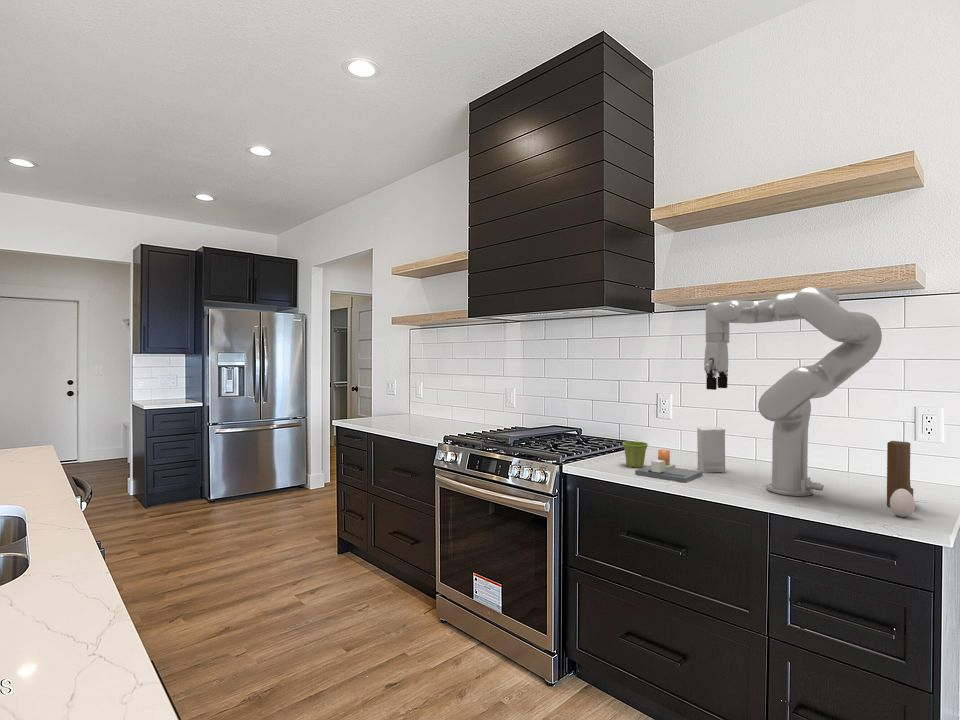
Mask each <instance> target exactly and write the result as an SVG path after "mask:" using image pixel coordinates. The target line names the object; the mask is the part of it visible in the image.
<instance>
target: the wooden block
mask: <svg viewBox="0 0 960 720" xmlns="http://www.w3.org/2000/svg"><path fill="white" fill-rule="evenodd" d="M886 444H887V447H886V448H887V450H886V457H887V458H886V507H888V508H891V507H890V498H891V496H892V494H893V493H894V492H895V491H896V490H898V489H905V490H907V491H909V492H910V493H911V495H912V496H913V497H914V488H912V487H911V443H910V442H908V441H898V440H891V441H888V442H887V443H886Z"/></svg>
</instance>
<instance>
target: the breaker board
mask: <svg viewBox="0 0 960 720" xmlns="http://www.w3.org/2000/svg"><path fill="white" fill-rule="evenodd" d="M634 471H635V473H634V475H636V476H640V477H641V476H642V477H648V478H653V479H659V480H666V481H671V480H672V481H671V482H677V481H678V483H683V484H686V483H688V482H689V483H690V482H691V481H694V480H696V479H698V478H701V477H703V474H704V473H703V472H702V471H700V470H695V469H686V468H680V467H675V468H672V469H669V470H665V471H663V472H660V473H658V472H652V471H651V465H648V466H645V467H644V466H643V467H641V468H637V469H635V470H634Z"/></svg>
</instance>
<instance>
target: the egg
mask: <svg viewBox="0 0 960 720" xmlns="http://www.w3.org/2000/svg"><path fill="white" fill-rule="evenodd" d="M889 508H890V509H891V511H892V512H893V513H894V514H895V516H897V517H901V518H906V517H910V516H911V515H912V514H913V513H914V512H915V508H916V502H915V499H914V495H913V496H912V495H911V493H910V492H909V491H907V490H905V489H898V490H896V491H895V492H894V493H893V494H892V496H891V498H890V507H889Z"/></svg>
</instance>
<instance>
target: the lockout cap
mask: <svg viewBox="0 0 960 720" xmlns="http://www.w3.org/2000/svg"><path fill="white" fill-rule="evenodd" d="M657 451H658V452H657V460H663V461H665V466H669V465H670V464H671V450H669V449H658V450H657Z"/></svg>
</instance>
